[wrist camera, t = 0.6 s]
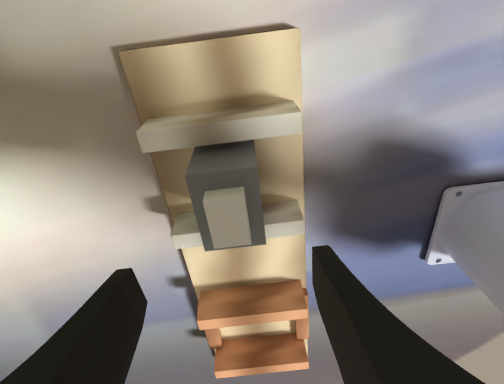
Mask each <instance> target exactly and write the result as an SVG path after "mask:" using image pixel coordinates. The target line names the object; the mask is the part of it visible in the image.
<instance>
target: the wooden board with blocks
mask: <svg viewBox="0 0 504 384" xmlns="http://www.w3.org/2000/svg"><path fill="white" fill-rule="evenodd" d="M118 53H119V57H120V60H121V63H122V66H123V69H124V72H125V75H126V78H127V81H128V84H129V88H130V91H131V94H132V97H133V100H134V103H135V106H136V109H137V112H138V115H139V119H140V122H141V125H142V126H141V127H140V128H139V129H138V130H137V131H136V136H137V139H138V142H139V145H140V148H141V151H142V153H148V152H150V153H151V156H152V159H153V162H154V165H155V168H156V171H157V174H158V178H159V181H160V184H161V187H162V190H163V193H164V196H165V199H166V202H167V205H168V209H169V212H170V215H171V218H172V221H173V224H174V226H173V229H172V232H171V235H170V237H171V239H172V242H173V245H174V248H175V249H182V252H183V255H184V258H185V261H186V264H187V267H188V271H189V274H190V277H191V280H192V283H193V286H194V289H195V292H196V295H197V299H198V305H197V309H198V314H197V324H198V327H199V330H205V333H206V336H207V339H208V342H209V345H210V348H211V349H214V351H215V367H214V373H215V376H216V378H225V377H235V376H244V375H253V374H263V373H272V372H282V371H291V370H300V369H309V361H308V347H307V339H309V320H308V293H307V289H306V258H305V213H304V168H303V124H302V79H301V35H300V28H292V29H284V30H277V31H269V32H262V33H254V34H247V35H239V36H232V37H224V38H216V39H209V40H201V41H194V42H186V43H179V44H171V45H164V46H156V47H149V48H141V49H133V50H126V51H121V52H118ZM253 139H254V145H255V153H256V160H257V167H258V176H259V184H260V193H261V202H262V210H263V219H264V228H265V236H266V245H257V246H249V247H240V248H231V249H223V250H214V251H206V252H205V250H204V246H203V242H202V239H201V235H200V231H199V228H198V224H197V220H196V216H195V213H194V209H193V205H192V201H191V198H190V194H189V190H188V186H187V183H186V179H185V173H186V171H187V168H188V165H189V162H190V159H191V157H192V154H193V151H194V148H195V147H197V146H205V145H213V144H221V143H229V142H237V141H245V140H253Z"/></svg>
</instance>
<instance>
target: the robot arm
mask: <svg viewBox="0 0 504 384" xmlns="http://www.w3.org/2000/svg"><path fill="white" fill-rule="evenodd" d="M457 192H458V193H457ZM456 193H457V194H456ZM425 261H426V262H427V264H429V265H435V264H444V263H453V262H456V263H457V264H458V266H459V267H460V268H461V269H462V270H463V271H464V272H465V273H466V274H467V275H468V276H469V278H470V279H471V280H472V281H473V282H474V283H475V284H476V285H477V286H478V287H479V288H480V289H481V291H482V292H483V293H484V294H485V295H486V296H487V297H488V298H489V299H490V300H491V301H492V303H493V304H494V305H495V306H496V307H497V308H498V309H499V310H500V311H501V312H502V313H503V315H504V181H500V182H491V183H483V184H474V185H466V186H458V187H450V188H448V189H446V190H445V191H444V193H443V196H442V199H441V203H440V207H439V210H438V214H437V218H436V221H435V225H434V228H433V232H432V236H431V239H430V243H429V247H428V250H427V254H426V258H425ZM312 272H313V287H314V291H315V296H316V300H317V304H318V308H319V311H320V314H321V317H322V320H323V323H324V326H325V328H326V331H327V334H328V337H329V340H330V343H331V345H332V348H333V351H334V354H335V357H336V360H337V362H338V365H339V368H340V372H341V375H342V378H343V382H344V384H485V383H484V382H482V381H481V380H479V379H477V378H476V377H475V376H473V375H472V374H470V373H469V372H467V371H466V370H464V369H463V368H461V367H460V366H459V365H457V364H456V363H455V362H453V361H452V360H450V359H449V358H448V357H446V356H445V355H444V354H442V353H441V352H439V351H438V350H437V349H435V348H434V347H433V346H431V345H430V344H429V343H427V342H426V341H425V340H423V339H422V338H421V337H420V336H418V335H417V334H416V333H415V332H413V331H412V330H411V329H410V328H409V327H407V326H406V325H405V324H404V323H403V322H402V321H400V320H399V319H398V318H397V317H396V316H395V315H393V314H392V313H391V312H390V311H389V310H388V309H387V308H386V307H385V306H384V305H383V304H382V303H381V302H380V301H378V300H377V299H376V298H375V297H374V296H373V295H372V294H371V293H370V292H369V291H368V290H367V289H366V288H365V286H364V285H363V284H362V283H361V282H360V281H359V280H358V279H357V278H356V277H355V276H354V275H353V274H352V273H351V271H350V270H349V269H348V268H347V267H346V266H345V264H344V263H343V262H342V261H341V260H340V259H339V257H338V256H337V255H336V254H335V252H334V251H333V250H332V248H331V247H330V246H328V245H325V246H317V247H312ZM146 307H147V300H146V298H145V296H144V294H143V291H142V289H141V287H140V285H139V283H138V281H137V279H136V276H135V274H134V272H133V270H132V268H128V269H119V270H116V271H115V272H114V273H113V274H112V275H111V276H110V277H109V278H108V279H107V280H106V281H105V282H104V283H103V284H102V285H101V287H100V288H99V289H98V290H97V291H96V292H95V293H94V294H93V295H92V296H91V297H90V298H89V299H88V300H87V301H86V302H85V304H84V305H83V306H82V307H81V308H80V309H79V310H78V311H77V312H76V313H75V314H74V315H73V316H72V317H71V318H70V319H69V320H68V321H67V322H66V323H65V324H64V325H63V326H62V327H61V328H60V329H59V330H58V331H57V332H56V333H55V334H54V335H53V336H52V337H51V338H50V339H49V340H48V341H47V342H46V343H45V344H44V345H42V346H41V347H40V348H39V349H38V350H37V351H36V352H35V353H34V354H33V355H32V356H30V357H29V358H28V359H27V360H26V361H25V362H24V363H22V364H21V365H20V366H19V367H18V368H17V369H15V370H14V371H13V372H12V373H11V374H10V375H8V376H7V377H6V378H5V379H3V380H2V381H1V382H0V384H124V383H125V380H126V377H127V374H128V371H129V368H130V365H131V362H132V359H133V356H134V353H135V350H136V347H137V343H138V340H139V337H140V334H141V331H142V327H143V323H144V318H145V312H146Z"/></svg>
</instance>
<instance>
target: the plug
mask: <svg viewBox="0 0 504 384" xmlns="http://www.w3.org/2000/svg"><path fill="white" fill-rule="evenodd" d="M185 179H186V183H187V186H188V190H189V194H190V198H191V201H192V205H193V209H194V213H195V216H196V220H197V224H198V228H199V231H200V235H201V239H202V242H203V246H204V250H205V252H206V251H214V250H223V249H231V248H240V247H249V246H257V245H266V236H265V228H264V219H263V210H262V202H261V193H260V184H259V176H258V167H257V160H256V153H255V145H254V139H253V140H245V141H237V142H229V143H221V144H213V145H205V146H197V147H195V148H194V151H193V154H192V157H191V159H190V162H189V165H188V168H187V171H186V173H185Z"/></svg>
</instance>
